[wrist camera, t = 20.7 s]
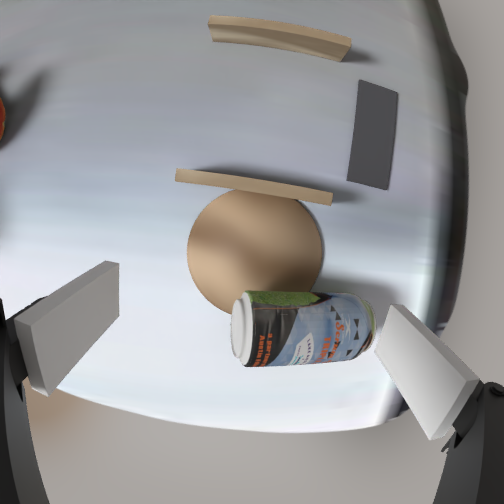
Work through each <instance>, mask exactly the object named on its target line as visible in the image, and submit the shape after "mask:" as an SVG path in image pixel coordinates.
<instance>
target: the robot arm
mask: <svg viewBox="0 0 504 504" xmlns="http://www.w3.org/2000/svg"><path fill="white" fill-rule="evenodd" d="M118 317H119V263H115V262H110V261H104V262H102V263H101V264H99V265H97V266H95V267H94V268H92V269H90V270H89V271H87V272H85V273H84V274H82V275H81V276H79V277H77V278H76V279H74V280H72V281H71V282H69V283H68V284H66V285H64V286H63V287H61V288H60V289H58V290H56V291H55V292H53V293H52V294H50V295H49V296H46V297H43V298H39V299H37V300H36V301H34V302H33V303H31V305H28V306H27V307H25V308H24V309H22V310H21V311H19V312H18V313H16V314H15V315H13V316H12V317H10V318H9V319H7V320H5V315H4V309H3V304H2V299H1V298H0V504H50V503H49V500H48V498H47V495H46V492H45V488H44V485H43V482H42V478H41V475H40V471H39V468H38V464H37V460H36V456H35V451H34V447H33V442H32V437H31V431H30V426H29V419H28V413H27V406H26V397H25V389H24V386H23V383H22V381H23V380H24V379H25V378H26V377H27V376H28V378H29V381H30V384H31V387H32V389H34V390H35V391H37V392H39V393H41V394H43V395H46V396H48V397H49V396H50V394H51V393H52V392H53V391H54V389H55V388H56V387H57V386H58V385H59V384H60V382H61V381H62V380H63V379H64V378H65V376H66V375H67V374H68V373H69V372H70V371H71V369H72V368H73V367H74V366H75V365H76V364H77V362H78V361H79V360H80V359H81V358H82V357H83V356H84V354H85V353H86V352H87V351H88V350H89V349H90V348H91V347H92V345H93V344H94V343H95V342H96V341H97V340H98V339H99V338H100V336H101V335H102V334H103V333H104V332H105V331H106V330H107V329H108V328H109V327H110V325H111V324H112V323H113V322H114V321H115V320H116V319H117V318H118ZM374 352H375V354H376V355H377V357H378V358H379V360H380V361H381V363H382V364H383V366H384V367H385V369H386V370H387V372H388V374H389V375H390V377H391V378H392V380H393V381H394V383H395V385H396V386H397V388H398V389H399V391H400V392H401V394H402V396H403V397H404V399H405V400H406V402H407V404H408V405H409V407H410V409H411V410H412V412H413V413H414V415H415V417H416V418H417V420H418V421H419V423H420V425H421V427H422V428H423V430H424V432H425V433H426V435H427V437H428V439H429V440H432V439H436V438H441V437H444V436H445V435H446V433H447V432H448V430H449V429H450V427H451V426H452V425H453V427H454V428H455V430H456V431H455V432H454V434H453V435H452V437H451V438H450V439H449V441H448V442H447V443H446V444H445V446H444V447H443V448H442V450H441V452H444V450H445V449H446V448H448V447H449V449H448V452H447V457H446V461H445V466H444V469H443V473H442V476H441V480H440V483H439V486H438V490H437V493H436V496H435V499H434V502H433V504H504V387H503V386H502V385H500V384H497V383H494V382H488V383H486V384H483V382H482V381H481V380H480V378H478V376H477V375H476V374H475V373H474V372H473V371H472V370H471V369H470V368H469V367H468V366H467V365H466V364H465V363H464V362H463V361H462V360H461V359H460V358H459V357H458V356H457V355H456V354H455V353H454V352H453V351H452V350H451V349H450V348H449V347H447V346H446V345H445V344H444V343H443V342H442V341H441V340H440V339H439V338H438V337H437V336H436V335H435V334H434V333H433V332H432V331H431V330H430V329H429V328H427V327H426V326H425V325H424V324H423V323H422V322H421V321H420V320H419V319H418V318H417V317H416V316H414V315H413V314H412V313H411V312H410V311H409V310H408V309H407V308H406V307H405V306H403V305H397V304H391V305H390V308H389V311H388V314H387V317H386V320H385V323H384V326H383V329H382V332H381V334H380V337H379V340H378V343H377V345H376V348H375V351H374Z"/></svg>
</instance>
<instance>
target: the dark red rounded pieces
mask: <svg viewBox="0 0 504 504" xmlns="http://www.w3.org/2000/svg"><path fill="white" fill-rule="evenodd" d="M5 115H6V114H5V109H4V105H3V102H2V100H1V98H0V140H1V138H2V135H3V132H4V129H5V127H4V121H5Z"/></svg>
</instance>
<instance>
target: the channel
mask: <svg viewBox="0 0 504 504" xmlns="http://www.w3.org/2000/svg"><path fill="white" fill-rule="evenodd" d="M208 26H209V29H210V33H211V36H212V40H213V42H228V43H239V44H249V45H257V46H264V47H271V48H278V49H284V50H289V51H295V52H300V53H305V54H309V55H314V56H318V57H322V58H326V59H330V60H334V61H338V62H340V61H341V60H342V59H343V57H344V56H345V54H346V53H347V52H348V50H349V49H350V48H351V38H349V37H345V36H342V35H338V34H334V33H330V32H326V31H322V30H318V29H314V28H309V27H304V26H299V25H294V24H289V23H283V22H276V21H270V20H262V19H254V18H244V17H232V16H213V15H210V18H209V22H208ZM175 181H177V182H185V183H193V184H201V185H208V186H216V187H223V188H230V189H237V190H243V191H250V192H256V193H262V194H268V195H274V196H280V197H286V198H292V199H297V200H303V201H308V202H313V203H318V204H324V205H329V206H331V203H332V198H333V193H330V192H325V191H320V190H315V189H310V188H305V187H300V186H294V185H289V184H283V183H278V182H272V181H266V180H260V179H253V178H247V177H240V176H233V175H226V174H219V173H211V172H204V171H195V170H187V169H178V168H177V169H176V176H175Z"/></svg>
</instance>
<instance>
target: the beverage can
mask: <svg viewBox="0 0 504 504" xmlns="http://www.w3.org/2000/svg"><path fill="white" fill-rule="evenodd" d="M375 334H376V317H375V313H374V310H373V308H372V307H371V305H370V304H369V303H368V302H367V301H365V300H362V299H361V298H359V297H358V296H356V295H355V294H351V293H316V292H279V291H252V290H247V291H245V292H244V293H243V294H242V296H241V298H240V299H237V300H236V301H235V303H234V305H233V310H232V316H231V344H232V350H233V354H234V356H235V357H236V358H239V359H240V361H241V363H242V365H244V366H245V367H266V366H288V365H303V364H316V363H327V362H337V361H346V360H352V359H354V358H356V357H358V356H359V355H360V354H361V353H362V352H365V351H366V350H368V349H369V348H370V347H371V345H372V343H373V341H374V338H375Z"/></svg>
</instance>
